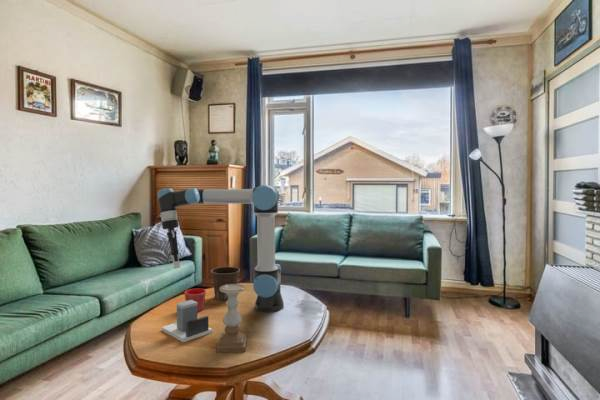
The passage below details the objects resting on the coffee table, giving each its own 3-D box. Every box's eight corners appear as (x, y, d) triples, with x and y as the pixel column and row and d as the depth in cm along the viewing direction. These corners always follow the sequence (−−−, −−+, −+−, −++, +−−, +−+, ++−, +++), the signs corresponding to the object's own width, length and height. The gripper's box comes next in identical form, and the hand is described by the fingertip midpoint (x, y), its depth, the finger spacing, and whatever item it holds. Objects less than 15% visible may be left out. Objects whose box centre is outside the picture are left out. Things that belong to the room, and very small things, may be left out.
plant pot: (230, 303, 194) (230, 274, 193) (205, 300, 200) (205, 271, 199) (245, 295, 209) (245, 268, 209) (221, 292, 215) (221, 265, 214)
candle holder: (220, 340, 148) (220, 283, 147) (246, 339, 149) (247, 283, 148) (216, 352, 137) (216, 291, 136) (245, 352, 138) (245, 290, 137)
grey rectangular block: (176, 328, 156) (176, 303, 155) (191, 323, 161) (191, 299, 161) (182, 331, 152) (182, 306, 152) (197, 326, 158) (197, 302, 157)
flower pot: (209, 306, 189) (209, 288, 189) (201, 314, 178) (201, 294, 178) (189, 305, 190) (189, 287, 190) (180, 313, 179) (180, 293, 179)
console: (161, 330, 158) (161, 313, 157) (190, 321, 168) (190, 305, 168) (183, 342, 146) (183, 324, 145) (212, 332, 156) (212, 315, 156)
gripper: (160, 222, 179) (167, 269, 177) (162, 220, 167) (170, 270, 165) (175, 220, 182) (183, 266, 180) (179, 217, 171) (187, 266, 169)
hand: (177, 268), depth 173 cm, fingers closed
